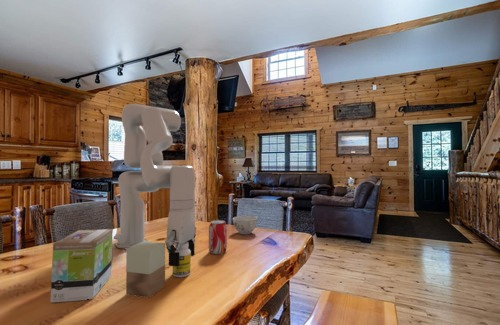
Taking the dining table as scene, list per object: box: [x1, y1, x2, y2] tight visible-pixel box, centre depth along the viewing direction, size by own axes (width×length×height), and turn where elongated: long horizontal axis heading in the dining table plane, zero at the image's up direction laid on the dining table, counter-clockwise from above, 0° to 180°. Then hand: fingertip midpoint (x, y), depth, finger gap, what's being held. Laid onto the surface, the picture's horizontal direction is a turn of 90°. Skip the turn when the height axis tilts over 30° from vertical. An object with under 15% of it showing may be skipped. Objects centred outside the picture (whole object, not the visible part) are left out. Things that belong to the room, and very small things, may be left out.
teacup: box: [232, 215, 258, 235], centre depth 134 cm, size 15×12×8 cm
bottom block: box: [125, 264, 166, 299], centre depth 72 cm, size 7×7×6 cm
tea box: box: [49, 228, 113, 303], centre depth 73 cm, size 15×10×15 cm, turn 12°
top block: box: [125, 241, 166, 274], centre depth 72 cm, size 7×7×6 cm
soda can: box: [208, 219, 228, 255], centre depth 104 cm, size 7×7×12 cm
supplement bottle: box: [172, 242, 192, 278], centre depth 83 cm, size 5×5×10 cm
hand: (182, 260), depth 83 cm, fingers open, 9 cm apart
